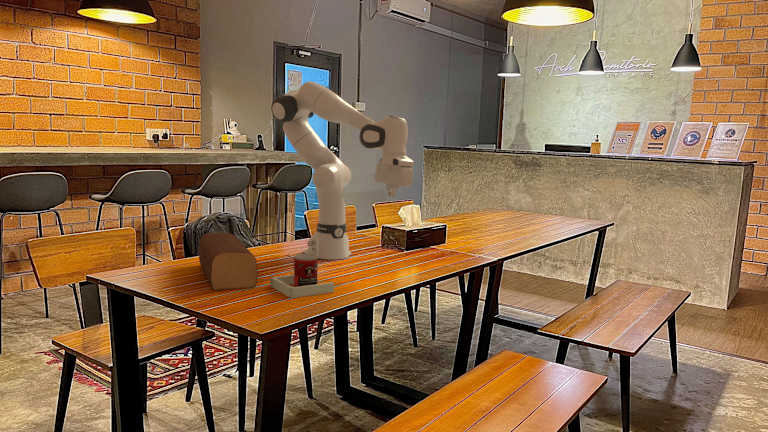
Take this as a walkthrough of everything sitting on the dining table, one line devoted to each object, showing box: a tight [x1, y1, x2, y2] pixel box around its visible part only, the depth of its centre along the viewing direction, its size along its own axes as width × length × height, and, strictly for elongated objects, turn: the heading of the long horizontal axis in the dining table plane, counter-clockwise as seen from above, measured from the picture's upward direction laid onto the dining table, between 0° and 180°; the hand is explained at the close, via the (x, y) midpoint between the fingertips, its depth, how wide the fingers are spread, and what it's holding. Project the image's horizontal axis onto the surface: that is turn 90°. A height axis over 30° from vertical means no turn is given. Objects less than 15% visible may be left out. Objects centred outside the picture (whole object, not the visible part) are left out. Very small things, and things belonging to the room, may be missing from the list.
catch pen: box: [269, 274, 335, 299], centre depth 194 cm, size 16×15×3 cm
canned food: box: [293, 253, 319, 287], centre depth 194 cm, size 8×8×11 cm
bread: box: [198, 232, 259, 292], centre depth 208 cm, size 16×39×13 cm, turn 23°
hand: (391, 196), depth 221 cm, fingers closed
